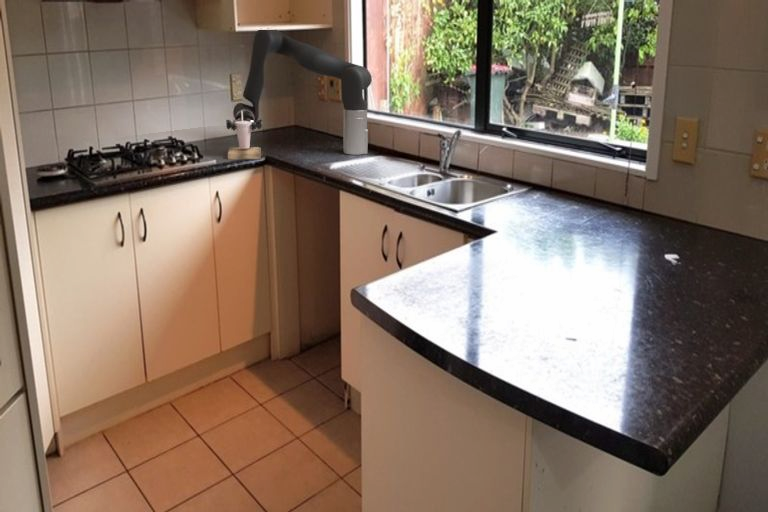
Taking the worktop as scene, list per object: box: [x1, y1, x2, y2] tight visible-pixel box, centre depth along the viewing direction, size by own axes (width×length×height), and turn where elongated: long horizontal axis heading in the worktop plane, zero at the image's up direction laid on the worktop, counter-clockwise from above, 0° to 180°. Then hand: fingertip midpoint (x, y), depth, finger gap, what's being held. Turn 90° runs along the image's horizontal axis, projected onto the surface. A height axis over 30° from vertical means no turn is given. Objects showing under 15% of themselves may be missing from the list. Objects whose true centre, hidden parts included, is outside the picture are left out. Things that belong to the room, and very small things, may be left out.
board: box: [227, 146, 262, 160], centre depth 273 cm, size 12×12×2 cm
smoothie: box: [235, 111, 252, 149], centre depth 270 cm, size 6×6×14 cm
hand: (243, 127), depth 267 cm, fingers closed on smoothie, 6 cm apart
